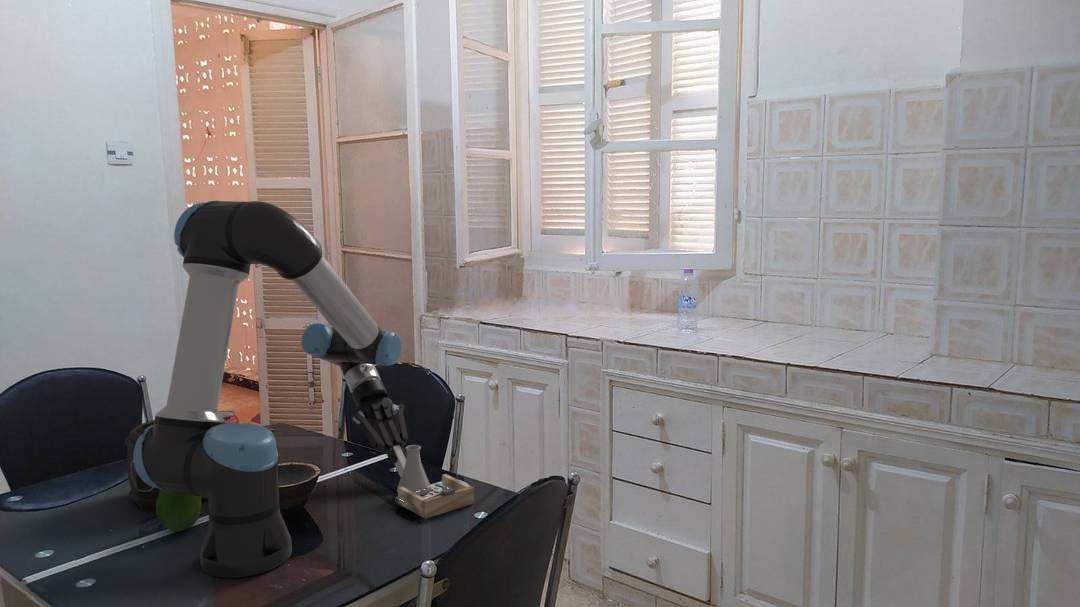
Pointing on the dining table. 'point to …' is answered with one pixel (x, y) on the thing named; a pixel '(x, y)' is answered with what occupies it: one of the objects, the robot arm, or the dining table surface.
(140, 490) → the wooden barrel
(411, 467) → the flask
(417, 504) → the u-shaped wooden frame
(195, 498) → the avocado
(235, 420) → the soda can
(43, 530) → the dining table surface
